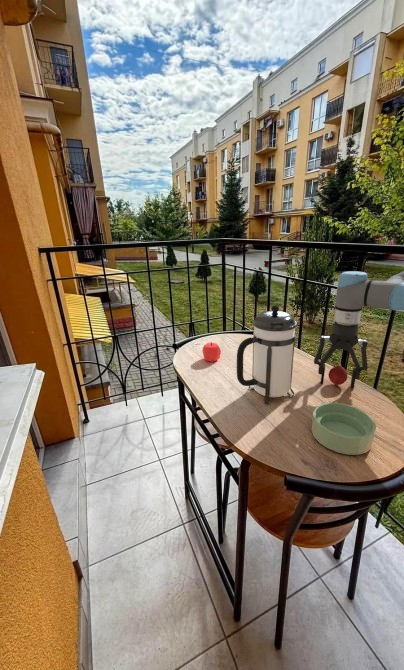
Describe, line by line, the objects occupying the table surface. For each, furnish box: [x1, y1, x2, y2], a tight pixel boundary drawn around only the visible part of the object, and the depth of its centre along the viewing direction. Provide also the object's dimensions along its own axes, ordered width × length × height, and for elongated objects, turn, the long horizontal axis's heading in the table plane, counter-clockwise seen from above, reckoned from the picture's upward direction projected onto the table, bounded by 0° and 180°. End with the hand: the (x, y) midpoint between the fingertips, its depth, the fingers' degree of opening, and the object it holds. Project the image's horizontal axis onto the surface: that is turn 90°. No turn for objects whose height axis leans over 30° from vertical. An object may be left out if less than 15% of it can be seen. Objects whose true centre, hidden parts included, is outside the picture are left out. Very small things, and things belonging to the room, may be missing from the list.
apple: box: [201, 341, 222, 363], centre depth 118 cm, size 8×8×8 cm
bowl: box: [310, 402, 377, 456], centre depth 72 cm, size 14×14×6 cm
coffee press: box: [236, 304, 298, 405], centre depth 87 cm, size 17×16×30 cm
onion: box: [328, 363, 349, 386], centre depth 95 cm, size 6×6×8 cm
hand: (336, 384), depth 96 cm, fingers open, 9 cm apart
